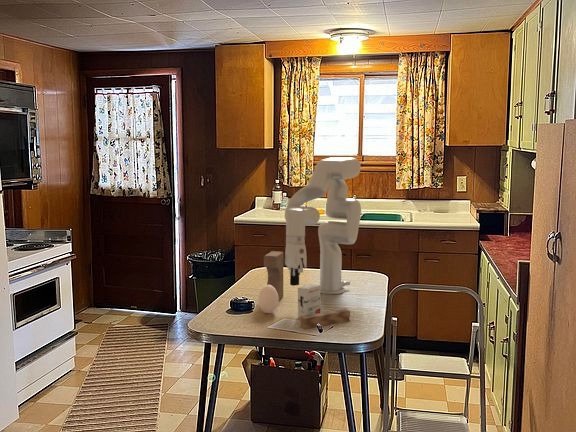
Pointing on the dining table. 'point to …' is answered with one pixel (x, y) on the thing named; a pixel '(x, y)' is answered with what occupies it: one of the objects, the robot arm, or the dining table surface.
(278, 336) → the dining table surface
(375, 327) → the dining table surface
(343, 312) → the board
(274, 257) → the decorative block
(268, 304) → the egg
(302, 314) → the ink box
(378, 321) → the dining table surface
